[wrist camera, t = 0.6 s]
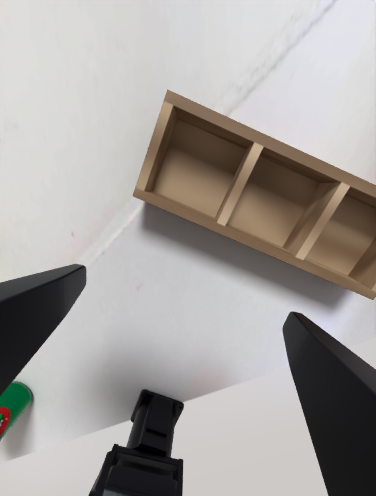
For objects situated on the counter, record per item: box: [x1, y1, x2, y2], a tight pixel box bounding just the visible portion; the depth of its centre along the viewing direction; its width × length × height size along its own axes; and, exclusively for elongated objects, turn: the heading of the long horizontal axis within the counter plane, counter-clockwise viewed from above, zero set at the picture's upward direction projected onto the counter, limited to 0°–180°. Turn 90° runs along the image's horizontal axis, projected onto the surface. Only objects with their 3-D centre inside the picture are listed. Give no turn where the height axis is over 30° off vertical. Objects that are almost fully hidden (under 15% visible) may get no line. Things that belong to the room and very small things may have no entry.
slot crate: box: [133, 90, 376, 300], centre depth 19 cm, size 9×24×4 cm, turn 67°
